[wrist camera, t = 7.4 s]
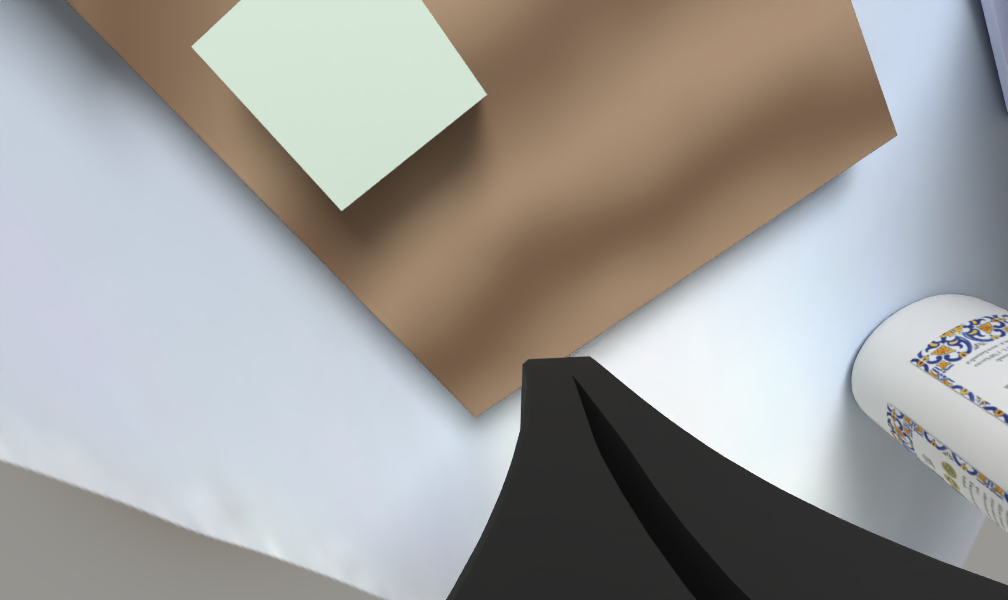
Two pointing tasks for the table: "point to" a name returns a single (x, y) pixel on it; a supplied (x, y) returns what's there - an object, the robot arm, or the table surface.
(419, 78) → the sage tile
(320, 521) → the table surface
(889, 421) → the bath foam
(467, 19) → the walnut plate
